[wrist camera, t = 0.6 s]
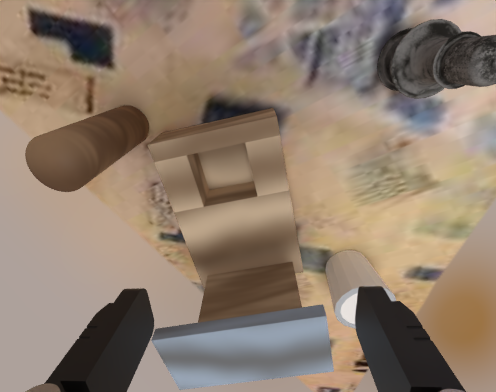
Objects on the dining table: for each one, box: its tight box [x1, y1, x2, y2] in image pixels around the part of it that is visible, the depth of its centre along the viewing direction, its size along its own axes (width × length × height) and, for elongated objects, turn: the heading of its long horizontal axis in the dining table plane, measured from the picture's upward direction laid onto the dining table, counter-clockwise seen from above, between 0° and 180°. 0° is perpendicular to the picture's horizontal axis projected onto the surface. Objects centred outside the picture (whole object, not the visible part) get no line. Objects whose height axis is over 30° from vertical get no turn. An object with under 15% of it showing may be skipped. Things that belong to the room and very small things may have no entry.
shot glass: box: [325, 250, 396, 328], centre depth 34 cm, size 7×7×7 cm
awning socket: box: [148, 108, 334, 390], centre depth 25 cm, size 18×13×16 cm
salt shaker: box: [377, 19, 496, 99], centre depth 20 cm, size 6×6×12 cm
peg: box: [25, 106, 149, 192], centre depth 23 cm, size 4×4×12 cm
